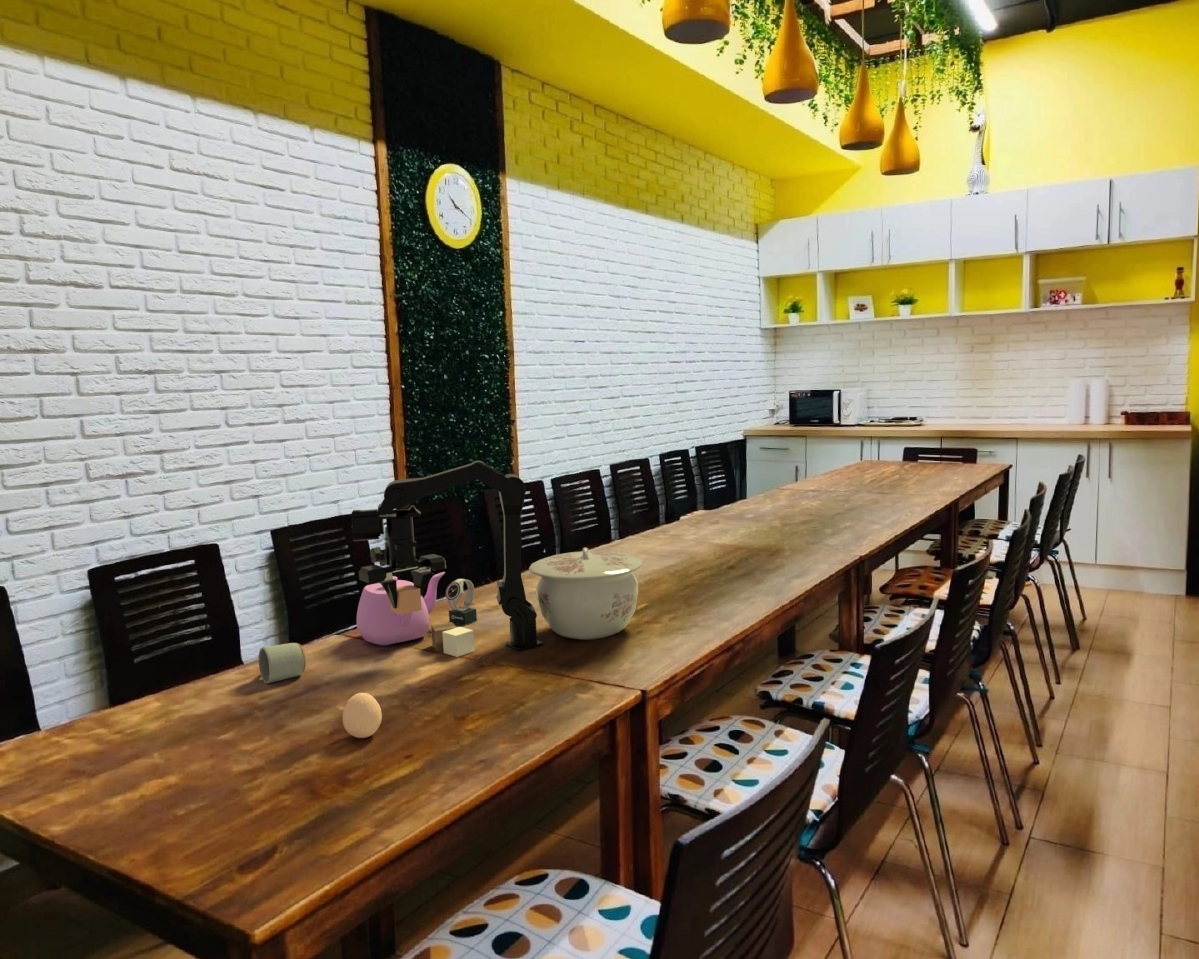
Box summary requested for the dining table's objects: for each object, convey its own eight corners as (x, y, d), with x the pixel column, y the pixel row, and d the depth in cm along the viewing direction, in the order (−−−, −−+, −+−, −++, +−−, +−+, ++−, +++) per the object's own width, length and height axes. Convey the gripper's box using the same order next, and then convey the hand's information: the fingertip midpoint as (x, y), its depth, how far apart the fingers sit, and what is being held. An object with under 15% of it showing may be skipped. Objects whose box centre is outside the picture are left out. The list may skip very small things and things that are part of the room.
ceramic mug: (309, 677, 184) (306, 642, 184) (270, 687, 179) (267, 651, 178) (291, 666, 193) (288, 633, 192) (254, 676, 187) (250, 641, 187)
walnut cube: (458, 648, 200) (456, 627, 199) (436, 651, 198) (435, 630, 198) (453, 642, 205) (452, 622, 204) (432, 645, 203) (431, 625, 202)
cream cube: (474, 651, 197) (473, 630, 197) (457, 657, 194) (455, 635, 193) (461, 647, 201) (459, 626, 200) (443, 653, 197) (442, 631, 196)
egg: (344, 747, 148) (340, 703, 147) (344, 732, 155) (340, 689, 154) (384, 741, 150) (380, 697, 149) (382, 726, 156) (379, 684, 155)
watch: (444, 624, 220) (441, 582, 218) (465, 616, 226) (463, 575, 225) (460, 627, 217) (457, 584, 215) (481, 619, 223) (479, 577, 222)
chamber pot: (578, 658, 189) (573, 565, 186) (510, 632, 210) (505, 549, 208) (671, 630, 206) (668, 545, 203) (600, 608, 227) (596, 531, 225)
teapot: (378, 657, 196) (373, 593, 194) (349, 636, 213) (344, 576, 211) (470, 637, 208) (466, 576, 206) (435, 618, 226) (431, 562, 224)
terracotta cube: (421, 610, 193) (420, 588, 192) (401, 614, 190) (399, 592, 189) (411, 606, 197) (409, 584, 196) (391, 610, 194) (389, 588, 193)
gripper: (421, 527, 203) (426, 591, 205) (346, 539, 192) (351, 607, 194) (444, 532, 195) (449, 599, 197) (366, 546, 183) (372, 617, 185)
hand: (406, 605), depth 193 cm, fingers closed on terracotta cube, 5 cm apart
